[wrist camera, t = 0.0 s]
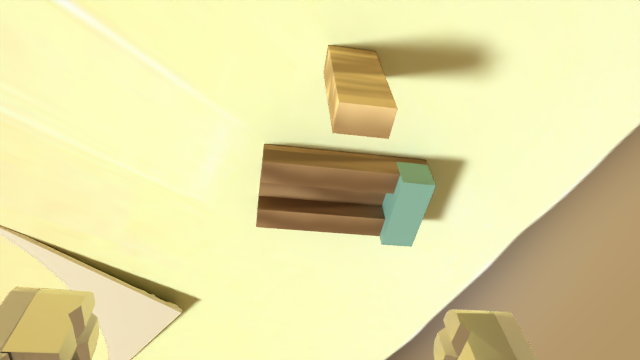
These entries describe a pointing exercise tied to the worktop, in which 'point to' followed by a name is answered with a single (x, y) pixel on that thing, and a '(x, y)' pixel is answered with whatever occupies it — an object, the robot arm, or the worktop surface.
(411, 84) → the worktop surface
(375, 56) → the oak plank
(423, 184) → the walnut sill
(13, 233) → the corner molding
